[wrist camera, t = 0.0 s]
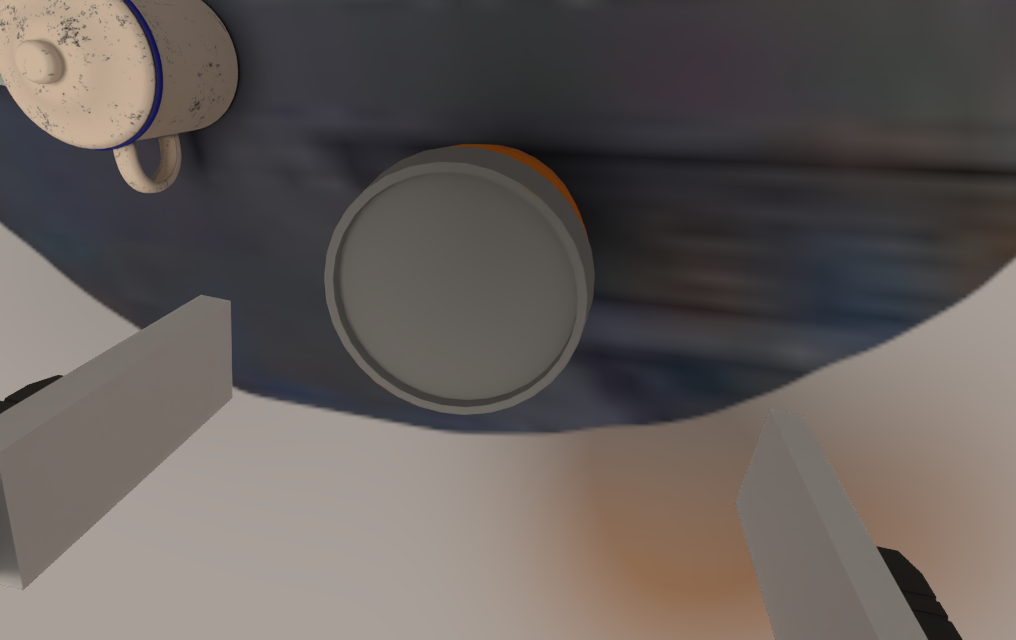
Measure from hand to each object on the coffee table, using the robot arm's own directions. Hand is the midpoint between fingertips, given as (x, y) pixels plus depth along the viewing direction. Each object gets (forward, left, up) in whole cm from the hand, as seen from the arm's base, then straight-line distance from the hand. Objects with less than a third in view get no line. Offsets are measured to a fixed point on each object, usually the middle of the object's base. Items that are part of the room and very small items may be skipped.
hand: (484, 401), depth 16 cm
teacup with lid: (-2, -25, -28) cm, 38 cm away
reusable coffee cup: (+3, -3, -28) cm, 29 cm away
